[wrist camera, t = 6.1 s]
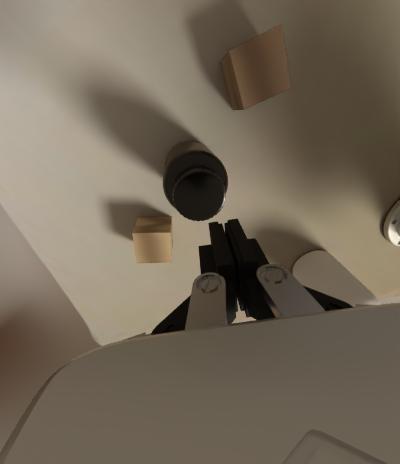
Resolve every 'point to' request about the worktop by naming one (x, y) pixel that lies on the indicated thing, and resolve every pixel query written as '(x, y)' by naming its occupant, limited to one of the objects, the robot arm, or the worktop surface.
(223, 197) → the supplement bottle
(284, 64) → the walnut block
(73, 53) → the worktop surface
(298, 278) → the pill bottle
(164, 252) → the maple block
